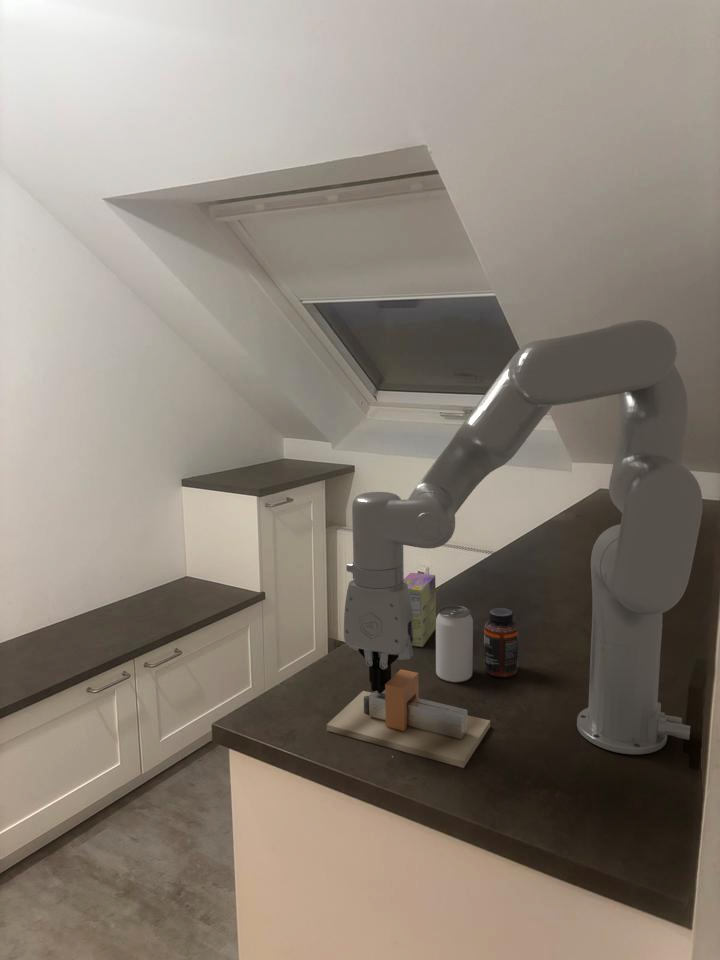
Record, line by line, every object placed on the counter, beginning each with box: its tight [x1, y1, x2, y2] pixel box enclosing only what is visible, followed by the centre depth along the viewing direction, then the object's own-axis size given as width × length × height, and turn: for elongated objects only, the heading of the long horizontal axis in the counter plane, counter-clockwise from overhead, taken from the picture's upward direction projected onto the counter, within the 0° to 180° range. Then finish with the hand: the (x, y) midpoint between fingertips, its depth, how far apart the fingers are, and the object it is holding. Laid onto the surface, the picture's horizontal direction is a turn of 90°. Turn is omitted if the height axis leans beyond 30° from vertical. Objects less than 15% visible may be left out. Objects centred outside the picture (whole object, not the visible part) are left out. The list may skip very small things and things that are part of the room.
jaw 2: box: [373, 690, 468, 735], centre depth 104 cm, size 15×1×3 cm, turn 61°
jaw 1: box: [369, 691, 464, 739], centre depth 103 cm, size 15×1×3 cm, turn 62°
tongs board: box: [326, 690, 491, 769], centre depth 105 cm, size 22×12×4 cm, turn 62°
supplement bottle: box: [483, 607, 519, 678], centre depth 122 cm, size 6×6×11 cm
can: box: [435, 605, 474, 683], centre depth 121 cm, size 6×6×12 cm
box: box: [404, 572, 437, 648], centre depth 139 cm, size 10×6×12 cm, turn 159°
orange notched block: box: [385, 668, 420, 731], centre depth 105 cm, size 3×6×7 cm, turn 152°
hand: (380, 688), depth 106 cm, fingers closed
